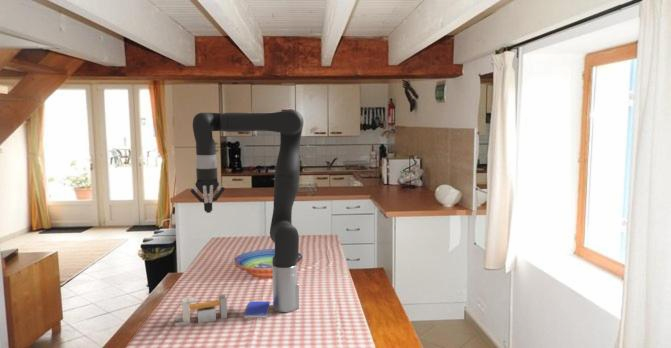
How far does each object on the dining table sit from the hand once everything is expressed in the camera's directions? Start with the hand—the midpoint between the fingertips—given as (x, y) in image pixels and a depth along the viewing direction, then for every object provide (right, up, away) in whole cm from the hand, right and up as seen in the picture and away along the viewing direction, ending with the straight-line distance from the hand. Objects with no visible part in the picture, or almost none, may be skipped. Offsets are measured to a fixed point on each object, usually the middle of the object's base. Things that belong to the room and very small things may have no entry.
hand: (208, 212), depth 177 cm
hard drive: (+18, -38, +1) cm, 42 cm away
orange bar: (+2, -33, -9) cm, 34 cm away
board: (0, -39, -9) cm, 40 cm away
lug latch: (-4, -38, -11) cm, 39 cm away
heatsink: (+2, -38, -8) cm, 39 cm away
